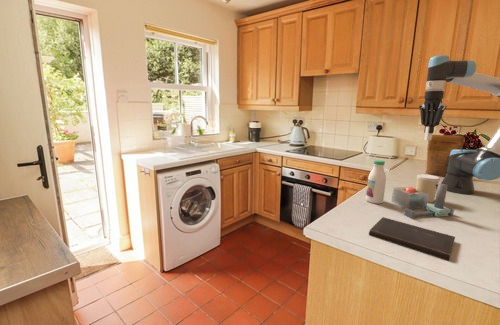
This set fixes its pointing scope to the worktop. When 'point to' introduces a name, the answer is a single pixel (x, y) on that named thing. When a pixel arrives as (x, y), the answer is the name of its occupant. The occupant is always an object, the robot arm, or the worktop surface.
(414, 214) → the rail
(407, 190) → the button
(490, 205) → the worktop surface
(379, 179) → the milk bottle
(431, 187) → the coffee cup
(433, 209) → the carriage
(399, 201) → the grey block with hole
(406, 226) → the hardcover book
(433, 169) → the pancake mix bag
